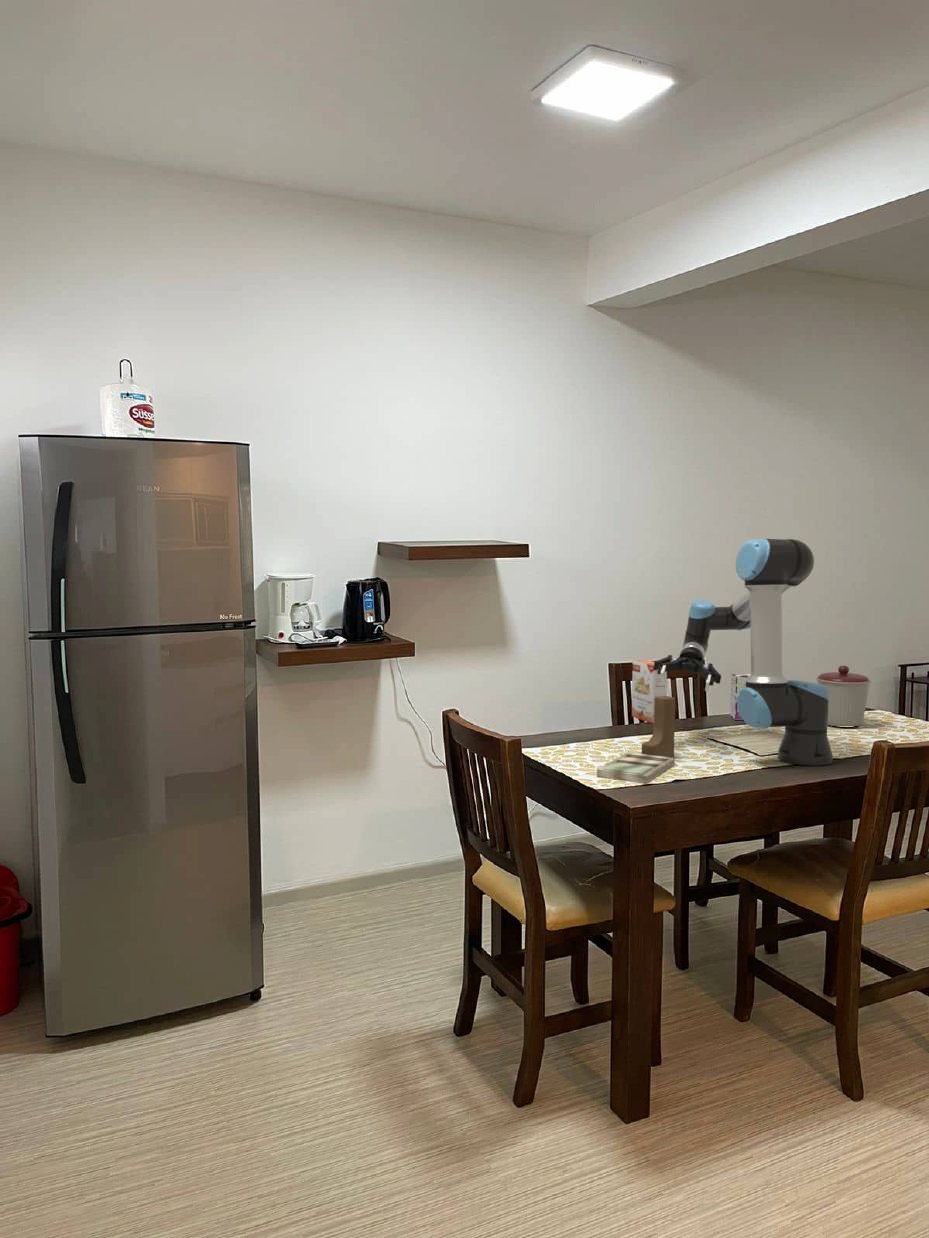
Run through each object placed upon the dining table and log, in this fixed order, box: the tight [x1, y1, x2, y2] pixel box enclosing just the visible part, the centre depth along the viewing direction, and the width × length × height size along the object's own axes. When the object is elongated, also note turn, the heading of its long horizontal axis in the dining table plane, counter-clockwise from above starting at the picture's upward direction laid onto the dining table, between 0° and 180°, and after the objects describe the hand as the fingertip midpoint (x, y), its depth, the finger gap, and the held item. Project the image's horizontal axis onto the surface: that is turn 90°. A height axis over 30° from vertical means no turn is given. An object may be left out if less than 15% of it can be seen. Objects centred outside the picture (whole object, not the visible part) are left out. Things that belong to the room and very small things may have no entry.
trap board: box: [596, 751, 676, 784], centre depth 264 cm, size 14×24×2 cm, turn 150°
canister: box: [815, 665, 872, 727], centre depth 329 cm, size 18×18×21 cm
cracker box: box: [631, 659, 668, 725], centre depth 337 cm, size 14×6×21 cm, turn 22°
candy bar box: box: [730, 673, 751, 719], centre depth 339 cm, size 11×5×16 cm, turn 97°
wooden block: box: [641, 695, 676, 758], centre depth 279 cm, size 9×4×18 cm, turn 120°
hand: (683, 681), depth 281 cm, fingers open, 13 cm apart
